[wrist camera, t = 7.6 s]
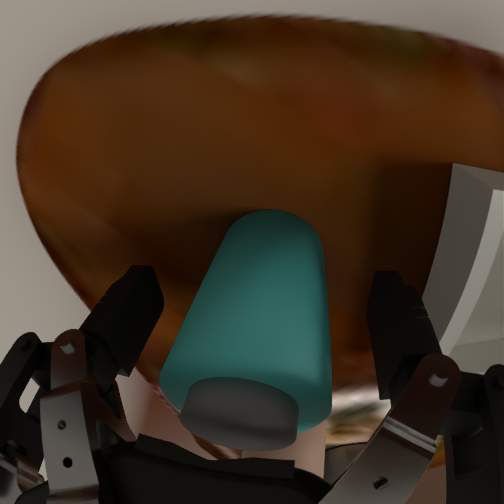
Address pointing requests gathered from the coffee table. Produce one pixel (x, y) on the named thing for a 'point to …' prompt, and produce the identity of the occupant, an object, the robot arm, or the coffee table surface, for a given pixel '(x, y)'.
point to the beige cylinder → (301, 450)
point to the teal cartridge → (256, 338)
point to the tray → (470, 271)
